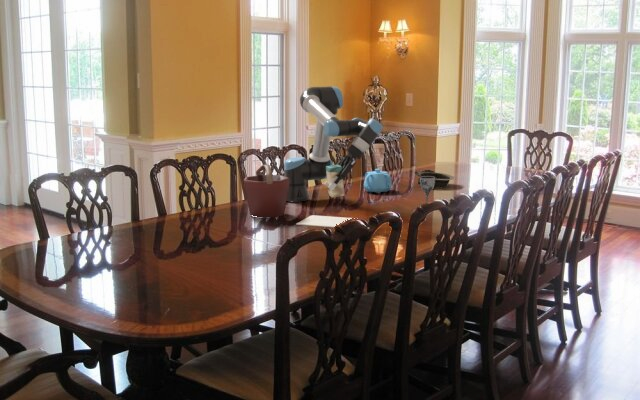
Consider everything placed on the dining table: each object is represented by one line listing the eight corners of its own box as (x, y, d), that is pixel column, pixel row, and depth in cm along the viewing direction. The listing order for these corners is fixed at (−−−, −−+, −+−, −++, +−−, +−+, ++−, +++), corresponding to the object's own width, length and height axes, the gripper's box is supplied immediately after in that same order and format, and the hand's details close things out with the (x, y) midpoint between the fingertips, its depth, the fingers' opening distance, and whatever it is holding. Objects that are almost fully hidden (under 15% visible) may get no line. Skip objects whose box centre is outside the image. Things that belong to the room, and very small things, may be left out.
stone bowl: (407, 183, 427) (408, 169, 426) (444, 184, 434) (445, 170, 432) (422, 189, 404) (424, 174, 402) (461, 190, 410) (463, 175, 409)
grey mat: (296, 224, 319) (296, 223, 319) (311, 215, 338) (311, 215, 338) (344, 228, 311) (344, 227, 311) (358, 219, 329) (358, 218, 329)
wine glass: (434, 206, 356) (434, 178, 354) (418, 206, 358) (419, 178, 355) (434, 204, 364) (435, 176, 361) (419, 203, 366) (420, 175, 363)
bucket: (248, 210, 354) (246, 162, 349) (290, 209, 354) (290, 161, 349) (243, 220, 330) (241, 169, 325) (289, 219, 330) (288, 168, 325)
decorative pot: (364, 189, 411) (364, 167, 409) (391, 189, 409) (391, 166, 407) (363, 194, 395) (363, 171, 393) (391, 194, 393) (391, 171, 391)
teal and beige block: (332, 197, 320) (329, 168, 317) (328, 194, 326) (325, 166, 322) (344, 195, 322) (341, 166, 318) (340, 192, 327) (337, 164, 324)
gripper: (370, 156, 314) (340, 196, 314) (357, 150, 332) (328, 188, 332) (358, 146, 311) (327, 186, 312) (345, 141, 329) (316, 179, 329)
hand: (328, 187), depth 322 cm, fingers closed on teal and beige block, 6 cm apart
